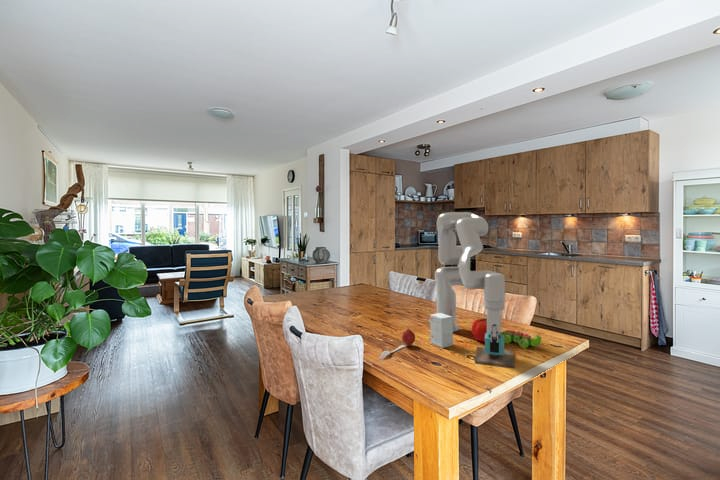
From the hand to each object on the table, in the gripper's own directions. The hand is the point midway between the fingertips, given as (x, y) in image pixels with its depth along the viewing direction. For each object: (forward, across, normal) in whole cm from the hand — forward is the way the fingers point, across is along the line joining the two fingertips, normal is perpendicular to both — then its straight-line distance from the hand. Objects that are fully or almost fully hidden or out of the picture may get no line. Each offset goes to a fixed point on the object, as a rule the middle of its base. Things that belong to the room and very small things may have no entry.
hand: (494, 348), depth 137 cm
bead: (+1, 0, 0) cm, 1 cm away
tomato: (+4, -20, -4) cm, 21 cm away
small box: (+4, -9, -22) cm, 24 cm away
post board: (+4, 0, 0) cm, 4 cm away
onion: (+4, -2, -35) cm, 36 cm away
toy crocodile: (+4, -21, +9) cm, 23 cm away
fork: (+4, +7, -40) cm, 41 cm away
